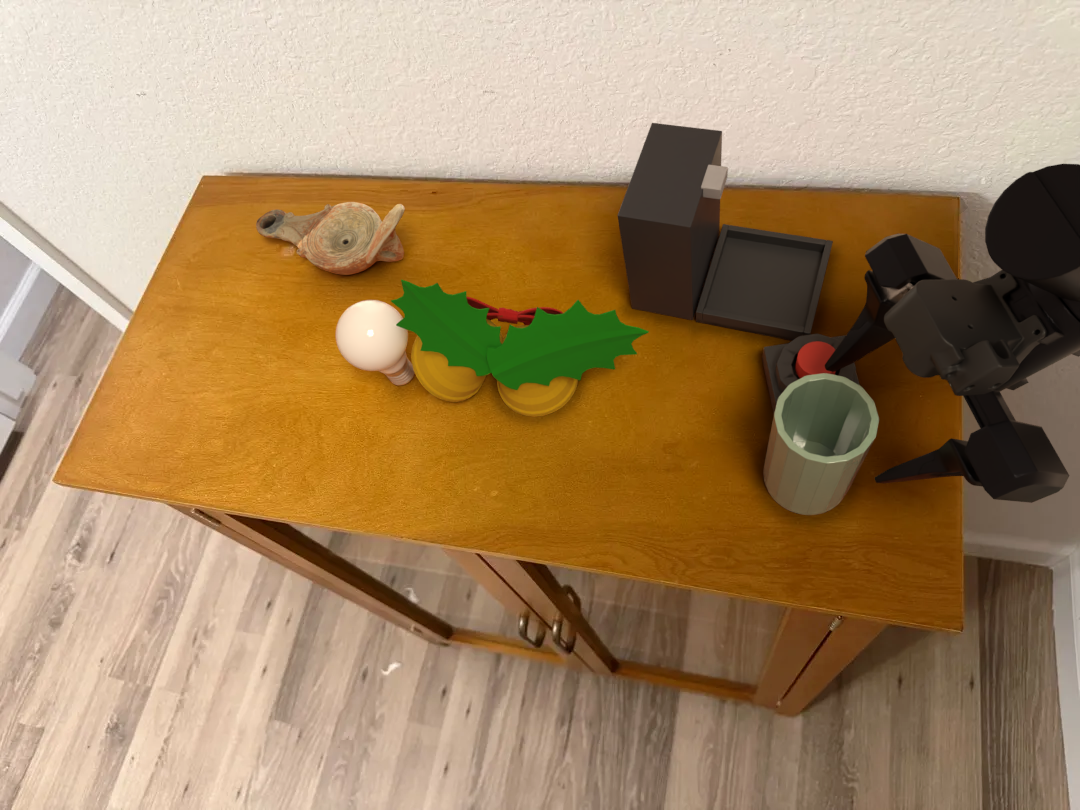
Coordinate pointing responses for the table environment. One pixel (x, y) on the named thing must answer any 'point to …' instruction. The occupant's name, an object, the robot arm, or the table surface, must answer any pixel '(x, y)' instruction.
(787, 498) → the cup
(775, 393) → the button block
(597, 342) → the ornament
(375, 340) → the lightbulb
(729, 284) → the coffee maker
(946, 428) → the table surface
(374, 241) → the oil lamp
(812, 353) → the button
